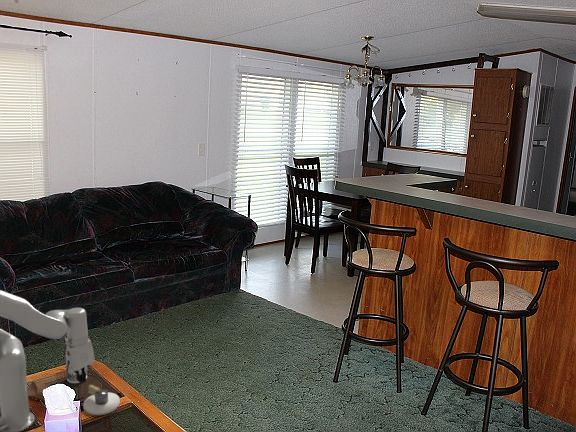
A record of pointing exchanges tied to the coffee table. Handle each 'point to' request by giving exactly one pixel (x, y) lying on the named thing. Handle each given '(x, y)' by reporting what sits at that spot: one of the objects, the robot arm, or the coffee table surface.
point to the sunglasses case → (36, 391)
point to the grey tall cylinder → (70, 377)
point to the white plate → (103, 409)
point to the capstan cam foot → (98, 394)
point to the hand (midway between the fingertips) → (81, 381)
